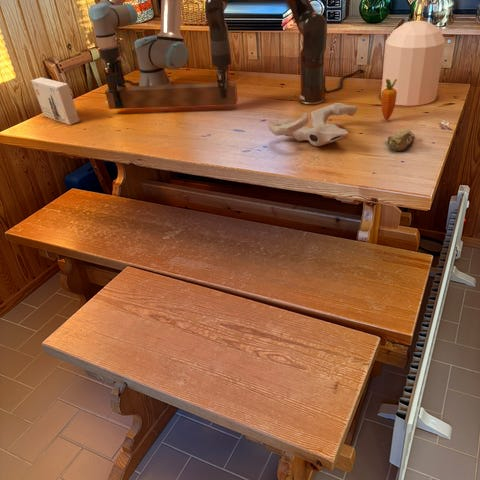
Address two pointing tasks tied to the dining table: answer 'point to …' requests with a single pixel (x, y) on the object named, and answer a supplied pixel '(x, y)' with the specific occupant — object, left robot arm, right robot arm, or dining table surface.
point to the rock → (400, 140)
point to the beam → (174, 96)
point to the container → (414, 62)
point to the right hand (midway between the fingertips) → (225, 95)
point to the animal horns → (314, 125)
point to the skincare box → (55, 100)
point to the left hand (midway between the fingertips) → (121, 105)
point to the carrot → (388, 99)
